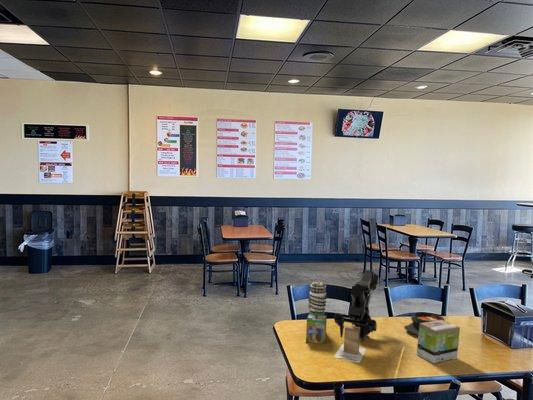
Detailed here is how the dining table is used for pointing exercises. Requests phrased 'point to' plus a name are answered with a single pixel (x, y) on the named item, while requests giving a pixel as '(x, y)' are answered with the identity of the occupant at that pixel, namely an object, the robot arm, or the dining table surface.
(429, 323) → the tea box
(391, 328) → the dining table surface
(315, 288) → the leaning tower model
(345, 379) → the dining table surface
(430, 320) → the casserole
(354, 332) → the block
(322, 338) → the chalk box
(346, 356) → the board
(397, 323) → the dining table surface
